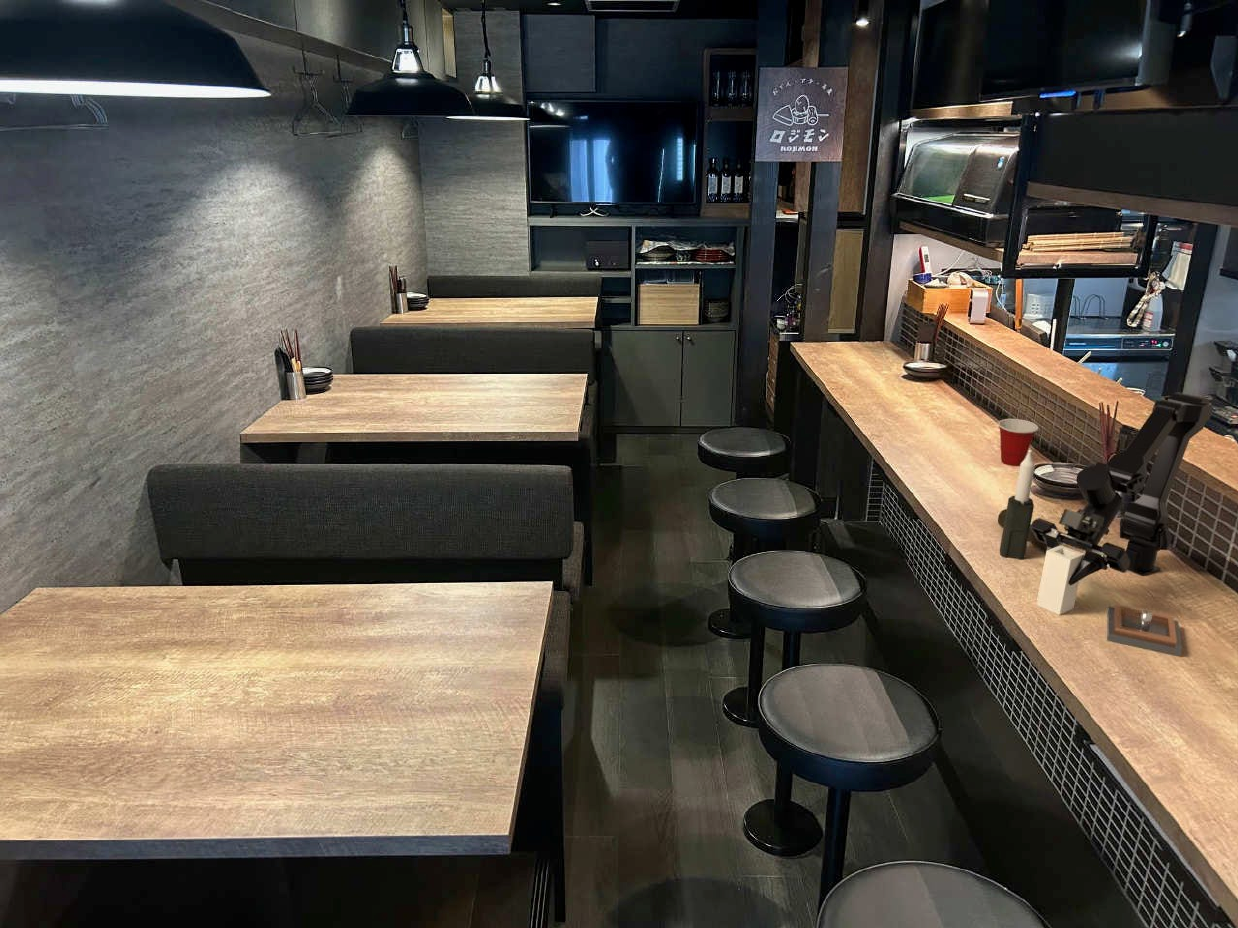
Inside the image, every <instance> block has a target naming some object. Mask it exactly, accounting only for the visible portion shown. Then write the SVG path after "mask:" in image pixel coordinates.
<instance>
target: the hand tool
mask: <svg viewBox="0 0 1238 928" xmlns="http://www.w3.org/2000/svg"><path fill="white" fill-rule="evenodd" d="M1006 510H1007V508H1005V509H1002V510H1001V511H1000V513H999V514H998V518H997V523H998V524H999V526H1000V527H1001V528H1003V527H1004V522H1005V516H1006ZM1027 542H1030V543H1032V544H1033V545H1035V546H1036V547H1038V548H1039V549H1041V550H1043V551H1045V552H1046V551H1047V544H1045V543H1043V542H1040V541H1038V540H1037V539H1036V538H1035V536H1034V534H1033V533H1032V531H1031V529H1030V530H1029V536H1028V541H1027Z"/></svg>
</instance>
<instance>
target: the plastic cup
mask: <svg viewBox="0 0 1238 928" xmlns="http://www.w3.org/2000/svg"><path fill="white" fill-rule="evenodd" d="M997 424H998V428H999V434H1000V440H999V441H1000V460H1001V463H1002V464H1004V465H1007V466H1012V467H1020V465H1021V463H1022V461H1024V460H1025V458H1026V456H1027V454H1028V450H1030V446H1031V444H1032V440H1033V438H1034V436H1035V434H1036V432H1037V431H1038V429H1039V426H1038V424H1036V423H1034V422H1032V421H1029V420H1025V419H1020V418H1004V419H1002V420H998V422H997Z"/></svg>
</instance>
